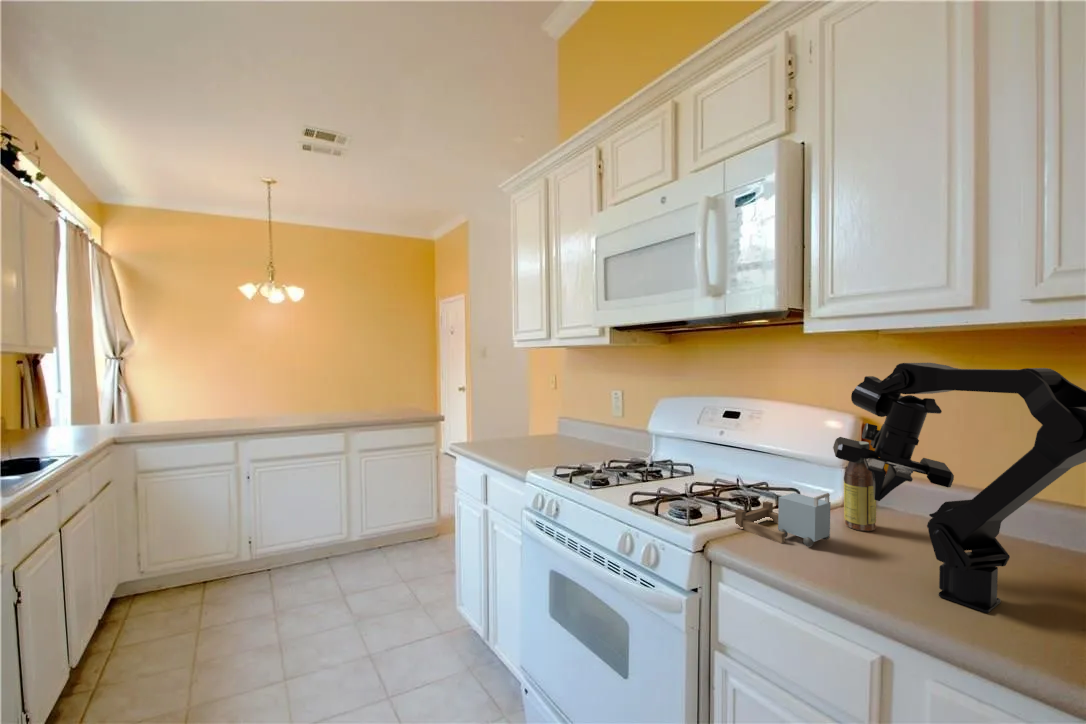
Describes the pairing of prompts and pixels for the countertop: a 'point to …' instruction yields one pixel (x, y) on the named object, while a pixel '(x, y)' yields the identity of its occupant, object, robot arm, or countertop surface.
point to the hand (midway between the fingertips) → (876, 499)
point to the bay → (748, 524)
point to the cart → (805, 517)
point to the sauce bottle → (859, 495)
